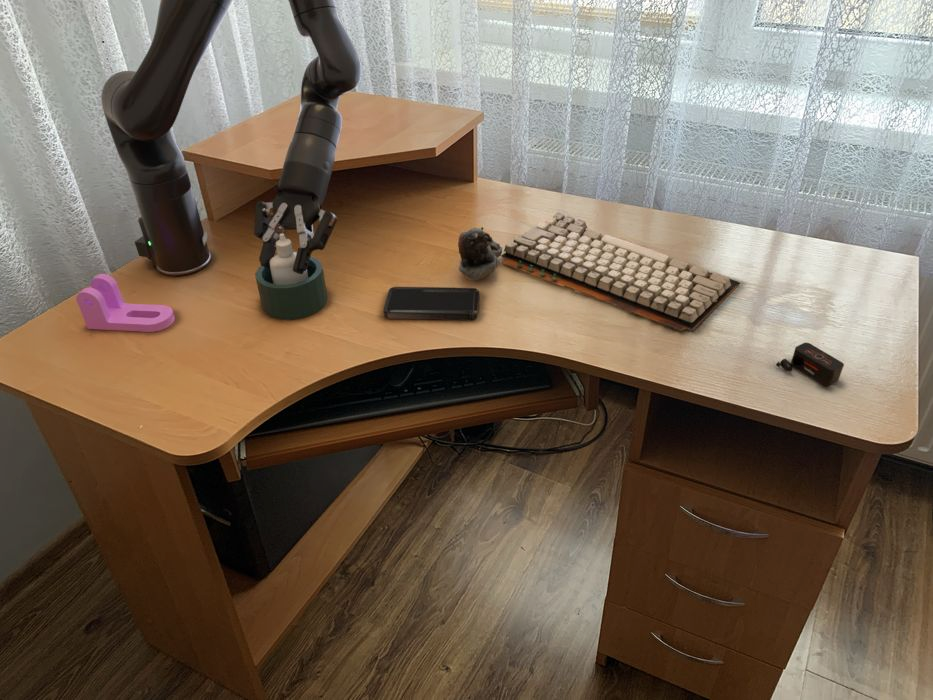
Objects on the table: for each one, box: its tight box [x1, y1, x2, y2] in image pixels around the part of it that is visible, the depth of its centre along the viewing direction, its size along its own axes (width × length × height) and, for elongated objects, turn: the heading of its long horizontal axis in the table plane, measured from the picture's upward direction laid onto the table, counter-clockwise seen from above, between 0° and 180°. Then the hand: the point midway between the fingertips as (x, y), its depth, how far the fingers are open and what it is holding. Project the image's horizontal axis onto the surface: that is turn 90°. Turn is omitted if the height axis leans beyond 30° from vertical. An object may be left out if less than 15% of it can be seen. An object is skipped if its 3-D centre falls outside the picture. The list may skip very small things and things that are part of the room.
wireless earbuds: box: [775, 342, 845, 388], centre depth 102 cm, size 5×7×3 cm, turn 32°
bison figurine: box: [457, 226, 503, 281], centre depth 125 cm, size 12×7×10 cm, turn 173°
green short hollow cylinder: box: [254, 256, 328, 321], centre depth 120 cm, size 11×11×6 cm
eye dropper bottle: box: [269, 234, 308, 285], centre depth 118 cm, size 4×6×12 cm
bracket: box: [75, 273, 176, 333], centre depth 116 cm, size 13×6×7 cm, turn 83°
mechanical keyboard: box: [500, 211, 741, 332], centre depth 126 cm, size 38×19×3 cm, turn 51°
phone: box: [383, 286, 480, 321], centre depth 119 cm, size 8×1×15 cm
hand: (281, 269), depth 116 cm, fingers closed on eye dropper bottle, 5 cm apart
